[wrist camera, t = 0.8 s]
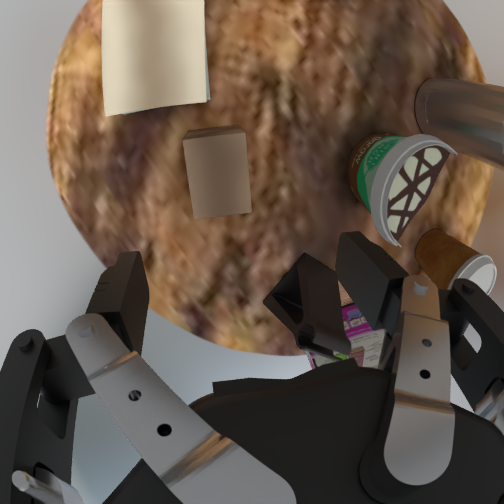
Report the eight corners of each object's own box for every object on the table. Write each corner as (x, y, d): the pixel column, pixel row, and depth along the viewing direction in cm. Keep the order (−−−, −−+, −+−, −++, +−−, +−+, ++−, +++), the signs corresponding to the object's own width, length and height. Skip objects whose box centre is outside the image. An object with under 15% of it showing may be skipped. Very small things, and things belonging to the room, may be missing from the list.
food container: (369, 102, 28) (424, 111, 19) (404, 131, 30) (459, 150, 22) (318, 190, 33) (356, 227, 24) (356, 211, 35) (398, 251, 26)
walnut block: (237, 124, 28) (245, 132, 22) (242, 188, 31) (251, 212, 25) (188, 130, 27) (182, 140, 21) (196, 194, 31) (194, 219, 25)
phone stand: (304, 251, 37) (340, 315, 26) (335, 271, 39) (374, 332, 29) (262, 301, 40) (281, 370, 29) (294, 316, 42) (318, 381, 32)
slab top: (204, -23, 16) (204, -41, 13) (206, 101, 23) (206, 102, 20) (117, -10, 16) (105, -24, 12) (119, 113, 22) (105, 116, 19)
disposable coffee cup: (416, 282, 43) (457, 329, 33) (398, 247, 39) (447, 296, 28) (455, 246, 41) (500, 286, 31) (442, 207, 36) (496, 246, 26)
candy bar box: (301, 341, 45) (332, 428, 31) (296, 321, 43) (331, 414, 29) (364, 319, 45) (409, 396, 31) (364, 297, 43) (416, 378, 29)
